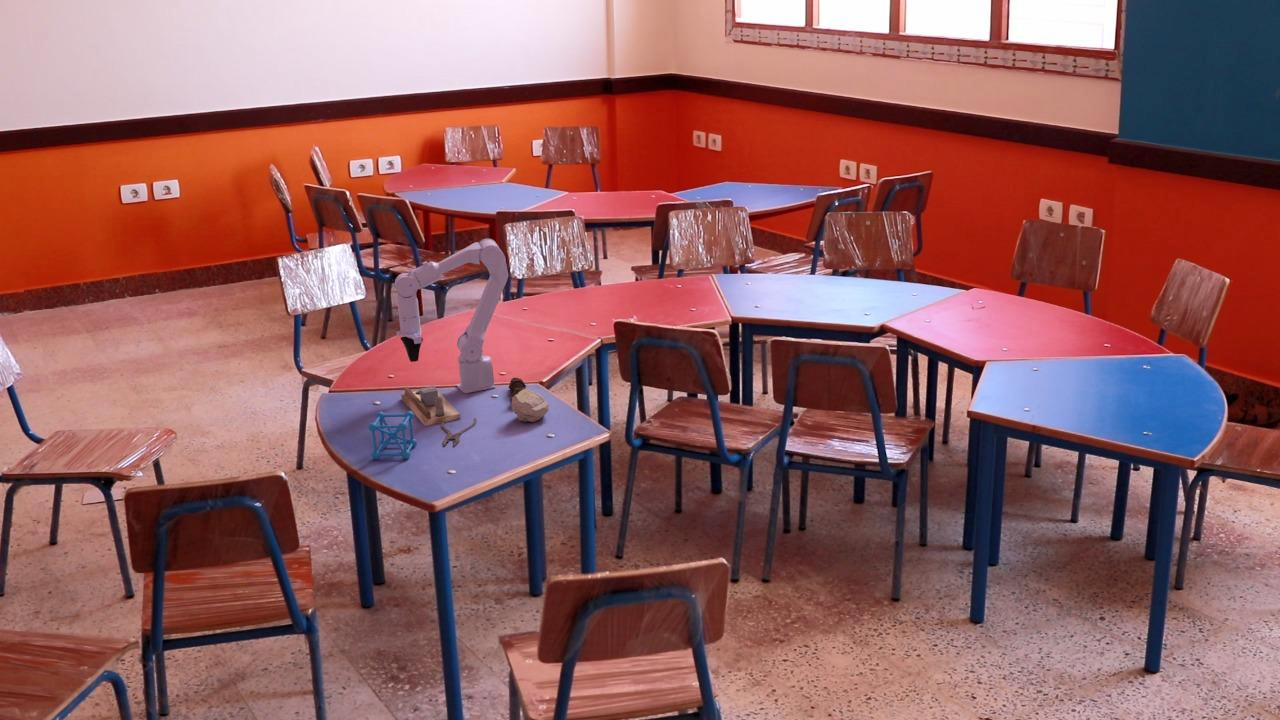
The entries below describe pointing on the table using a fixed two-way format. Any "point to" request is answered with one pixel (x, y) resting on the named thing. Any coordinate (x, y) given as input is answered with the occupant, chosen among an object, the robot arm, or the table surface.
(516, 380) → the bolt
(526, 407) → the beige rock
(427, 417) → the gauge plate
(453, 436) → the pliers
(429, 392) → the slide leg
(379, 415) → the molecular structure
